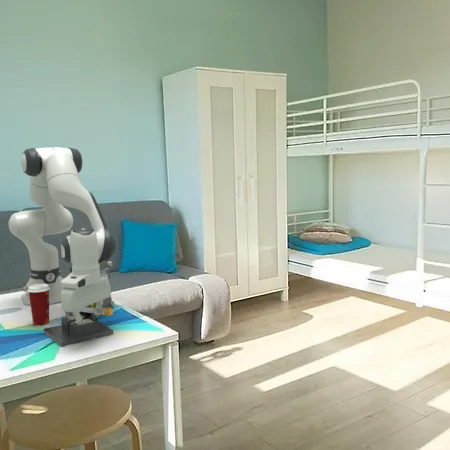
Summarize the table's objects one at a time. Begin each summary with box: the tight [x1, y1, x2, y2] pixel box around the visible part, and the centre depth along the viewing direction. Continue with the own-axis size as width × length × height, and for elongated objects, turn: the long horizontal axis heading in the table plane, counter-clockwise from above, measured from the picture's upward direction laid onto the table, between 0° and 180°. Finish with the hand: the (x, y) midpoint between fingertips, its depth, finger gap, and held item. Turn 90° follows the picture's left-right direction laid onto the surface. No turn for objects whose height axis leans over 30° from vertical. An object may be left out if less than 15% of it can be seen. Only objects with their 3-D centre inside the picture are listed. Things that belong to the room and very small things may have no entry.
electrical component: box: [69, 258, 115, 320], centre depth 196 cm, size 18×10×20 cm, turn 168°
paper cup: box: [28, 284, 50, 326], centre depth 186 cm, size 8×8×14 cm
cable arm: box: [80, 306, 114, 317], centre depth 176 cm, size 20×3×2 cm, turn 65°
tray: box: [43, 312, 114, 348], centre depth 174 cm, size 17×18×6 cm
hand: (88, 317), depth 168 cm, fingers open, 7 cm apart
